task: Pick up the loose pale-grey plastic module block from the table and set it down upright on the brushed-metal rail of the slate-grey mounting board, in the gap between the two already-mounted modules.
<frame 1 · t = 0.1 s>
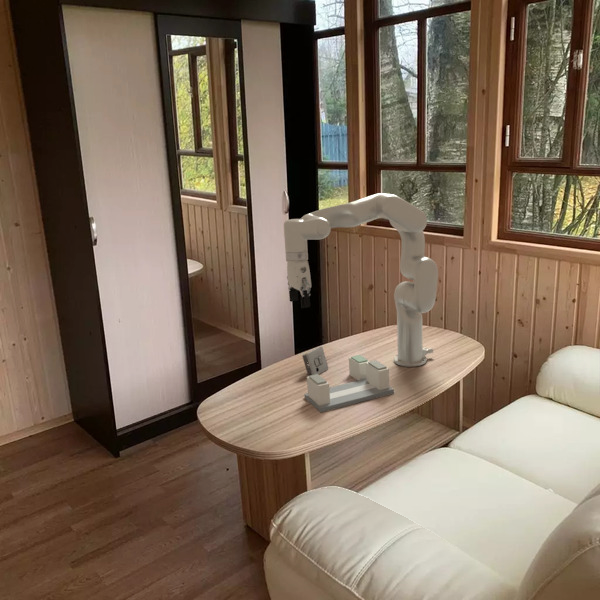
hand: (299, 304, 210), 31 cm above the table, fingers open, 9 cm apart
electrical switch: (315, 372, 231), on the table
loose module: (359, 377, 224), on the table
mounted modules: (348, 381, 207), on the rail board, point 5 cm above the table
rail board: (349, 395, 209), on the table
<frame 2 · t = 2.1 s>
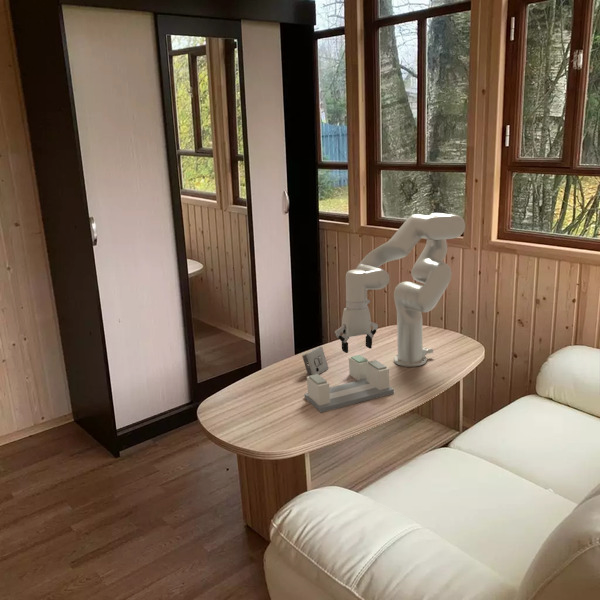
hand: (357, 349, 220), 11 cm above the table, fingers open, 9 cm apart
nothing on the table moved.
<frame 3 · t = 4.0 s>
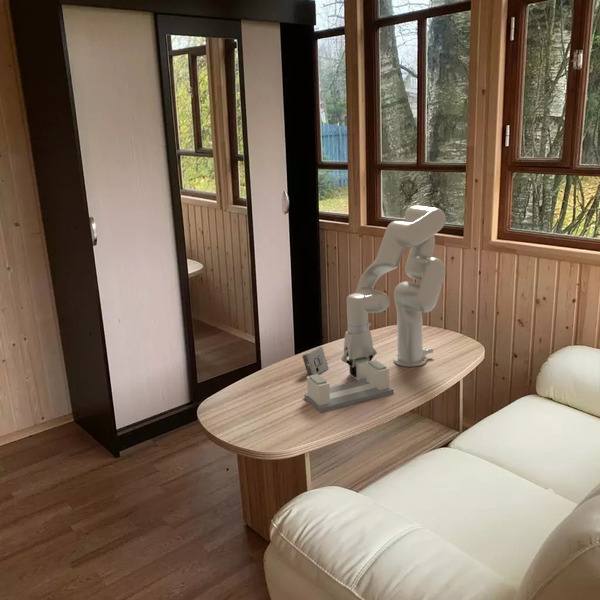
hand: (359, 373, 223), 1 cm above the table, fingers closed on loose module, 4 cm apart
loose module: (359, 377, 224), on the table, touching gripper
everything else where it was.
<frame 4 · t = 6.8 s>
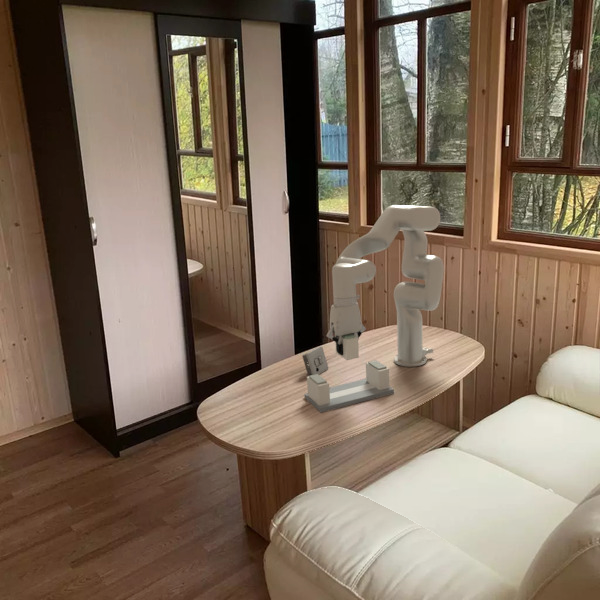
hand: (347, 351, 204), 16 cm above the table, fingers closed on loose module, 4 cm apart
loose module: (347, 355, 205), point 15 cm above the table, touching gripper
everything else where it was.
when the fingers open (4 cm above the table, at t = 9.6 s): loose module stays where it is, resting on rail board.
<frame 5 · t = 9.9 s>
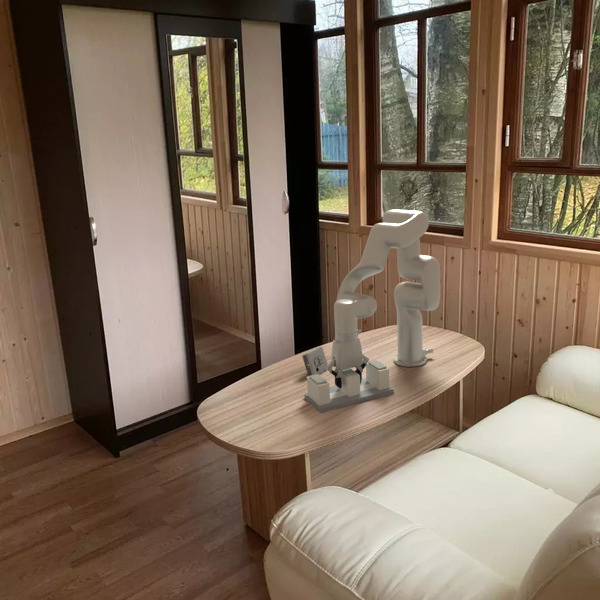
hand: (348, 384, 208), 4 cm above the table, fingers open, 7 cm apart
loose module: (349, 391, 209), point 2 cm above the table, touching rail board
everything else where it was.
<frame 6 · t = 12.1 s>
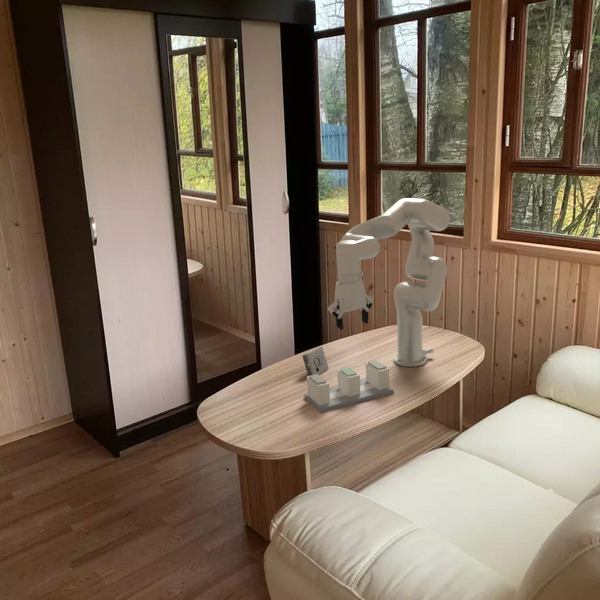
hand: (352, 325, 207), 24 cm above the table, fingers open, 9 cm apart
nothing on the table moved.
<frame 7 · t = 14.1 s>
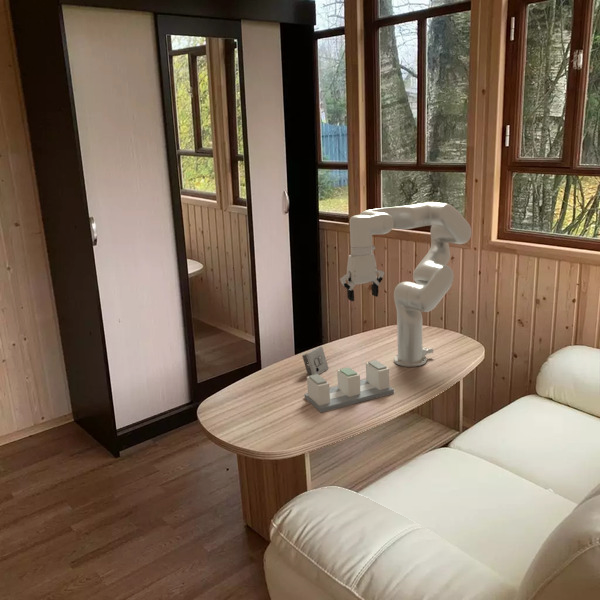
hand: (363, 298, 215), 30 cm above the table, fingers open, 9 cm apart
nothing on the table moved.
at the end: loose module inside the target area on the rail board (0.1 cm from its centre), point 1.5 cm above the rail board's base; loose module tilted 0°; the gripper is holding nothing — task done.
